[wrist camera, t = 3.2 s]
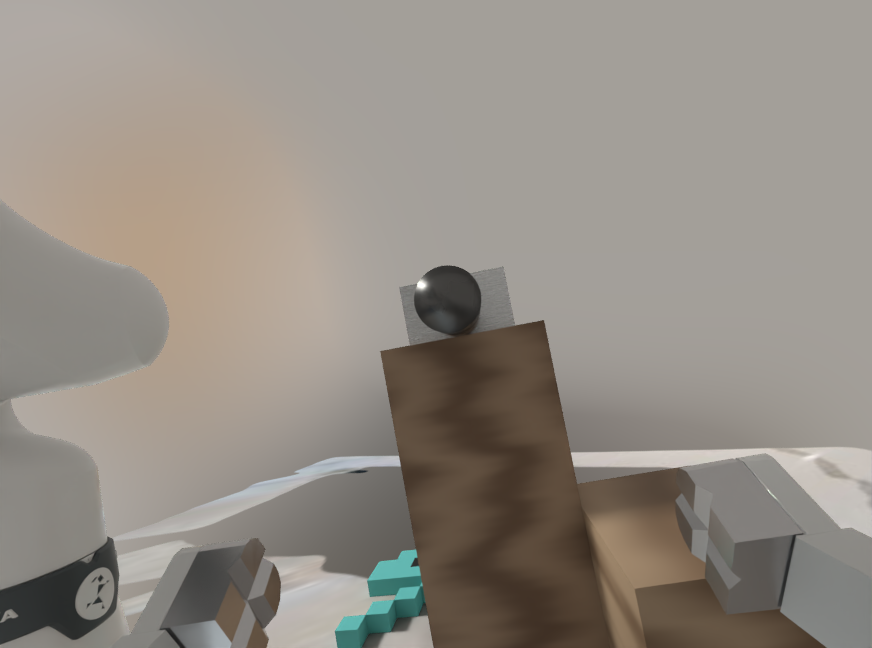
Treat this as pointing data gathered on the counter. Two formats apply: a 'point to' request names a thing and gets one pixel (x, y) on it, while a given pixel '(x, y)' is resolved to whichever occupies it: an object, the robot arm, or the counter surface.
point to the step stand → (541, 515)
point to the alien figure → (383, 614)
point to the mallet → (456, 304)
